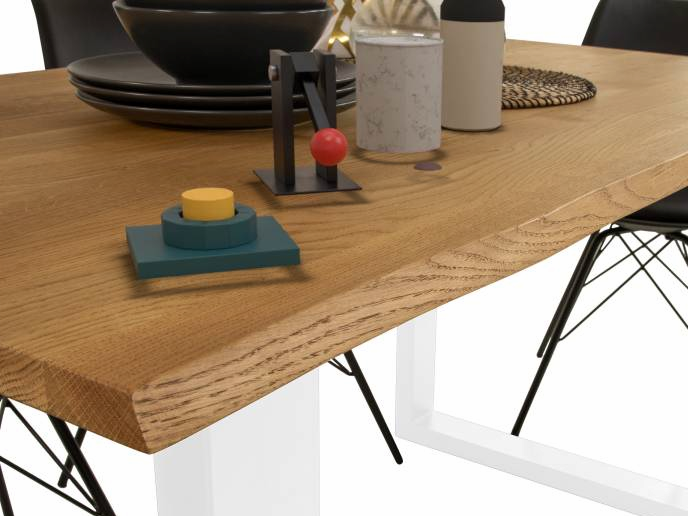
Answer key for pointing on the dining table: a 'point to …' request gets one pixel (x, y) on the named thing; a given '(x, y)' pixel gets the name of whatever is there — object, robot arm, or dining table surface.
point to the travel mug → (472, 63)
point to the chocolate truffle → (427, 166)
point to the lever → (317, 111)
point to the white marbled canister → (398, 93)
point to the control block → (209, 244)
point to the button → (208, 204)
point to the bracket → (284, 172)
